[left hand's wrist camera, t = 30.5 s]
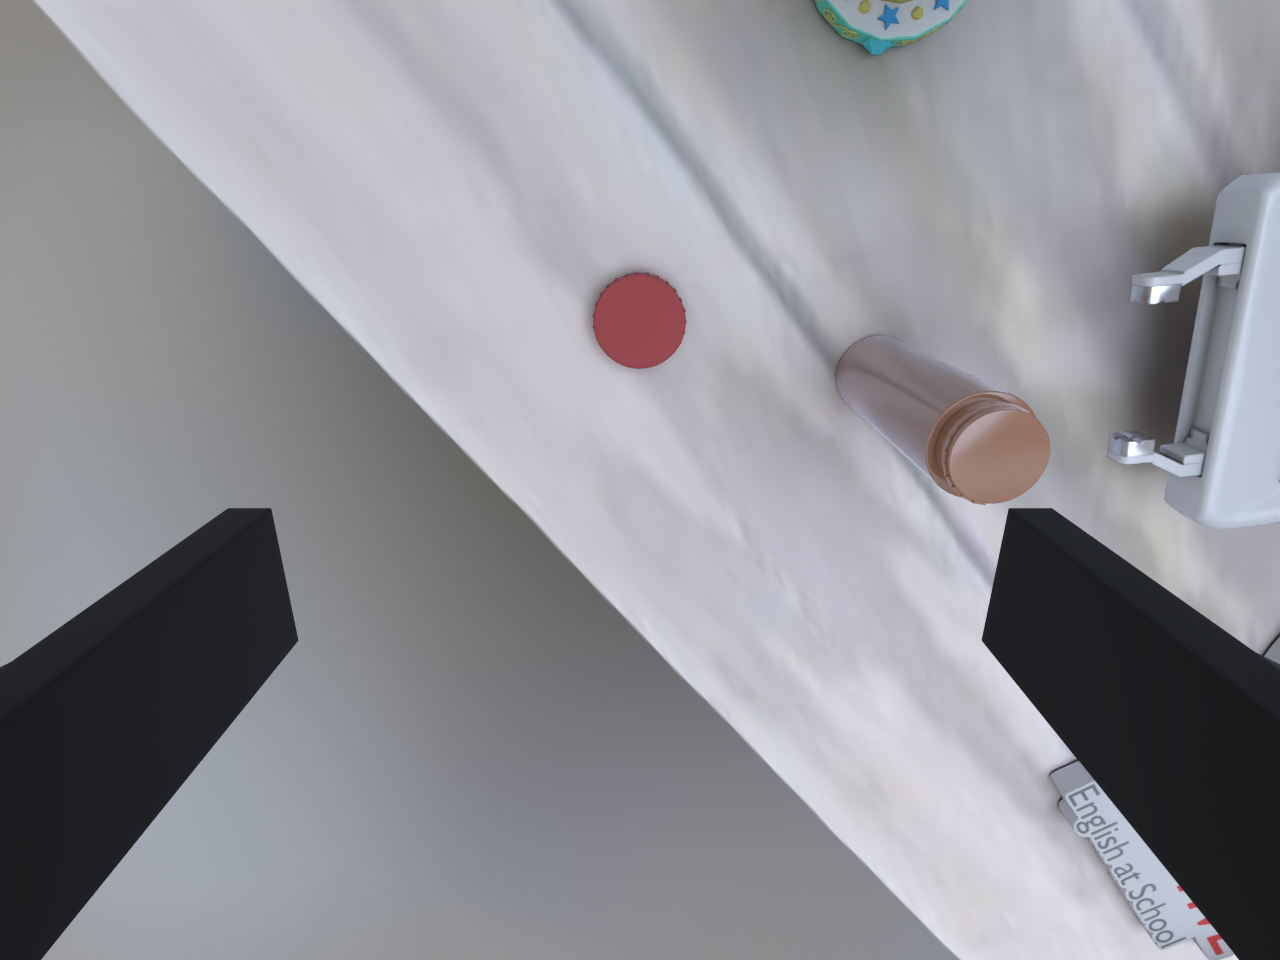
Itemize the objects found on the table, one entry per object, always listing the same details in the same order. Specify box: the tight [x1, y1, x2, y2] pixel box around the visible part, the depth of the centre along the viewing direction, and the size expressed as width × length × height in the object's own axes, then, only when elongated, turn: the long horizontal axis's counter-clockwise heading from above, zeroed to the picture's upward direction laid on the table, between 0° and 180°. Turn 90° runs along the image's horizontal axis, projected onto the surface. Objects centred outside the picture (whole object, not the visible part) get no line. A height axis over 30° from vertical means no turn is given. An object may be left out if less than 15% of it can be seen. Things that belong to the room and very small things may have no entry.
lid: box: [593, 272, 686, 368], centre depth 45 cm, size 6×6×2 cm
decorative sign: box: [1050, 637, 1280, 960], centre depth 59 cm, size 34×2×30 cm
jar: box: [836, 335, 1050, 505], centre depth 39 cm, size 5×5×18 cm
